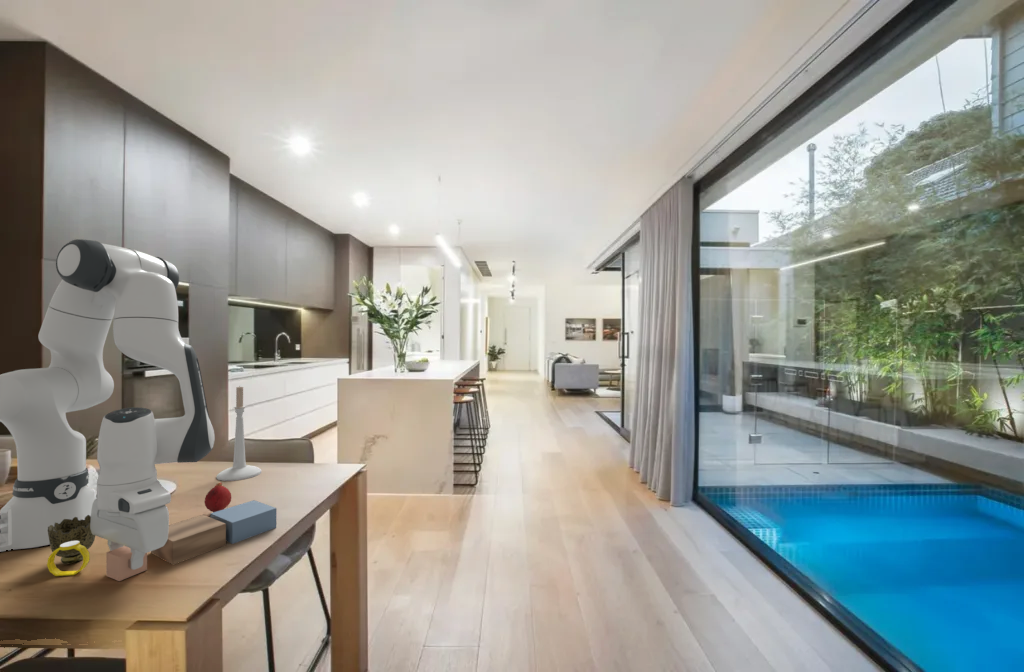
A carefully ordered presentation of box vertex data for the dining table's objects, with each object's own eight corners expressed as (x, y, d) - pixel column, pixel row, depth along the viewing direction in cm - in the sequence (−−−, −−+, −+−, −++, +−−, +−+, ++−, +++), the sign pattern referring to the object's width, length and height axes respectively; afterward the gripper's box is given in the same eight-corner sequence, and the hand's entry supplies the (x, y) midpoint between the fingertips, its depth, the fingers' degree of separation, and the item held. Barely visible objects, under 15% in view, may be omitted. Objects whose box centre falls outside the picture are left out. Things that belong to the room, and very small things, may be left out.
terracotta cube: (106, 575, 85) (106, 552, 85) (134, 564, 89) (134, 542, 89) (119, 581, 83) (119, 557, 83) (146, 569, 87) (147, 546, 87)
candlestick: (253, 479, 143) (253, 387, 144) (209, 482, 141) (209, 388, 141) (266, 468, 156) (266, 383, 156) (226, 470, 153) (226, 384, 153)
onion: (217, 518, 112) (218, 487, 112) (198, 516, 113) (199, 485, 113) (236, 510, 118) (236, 480, 118) (218, 508, 119) (218, 478, 119)
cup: (38, 573, 86) (38, 532, 86) (58, 556, 92) (59, 518, 93) (88, 565, 89) (88, 525, 89) (104, 549, 95) (104, 512, 96)
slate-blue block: (210, 534, 103) (210, 513, 103) (253, 519, 112) (253, 500, 112) (232, 545, 98) (232, 522, 98) (276, 528, 107) (276, 508, 107)
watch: (43, 580, 83) (43, 548, 83) (54, 573, 86) (54, 542, 86) (82, 576, 85) (82, 544, 85) (92, 568, 88) (92, 538, 88)
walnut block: (151, 554, 94) (151, 530, 94) (203, 536, 103) (203, 514, 103) (172, 566, 89) (172, 541, 89) (225, 546, 98) (225, 523, 98)
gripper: (79, 490, 87) (79, 560, 87) (137, 506, 79) (136, 584, 79) (118, 481, 93) (118, 546, 93) (176, 495, 85) (175, 567, 85)
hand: (127, 564), depth 86 cm, fingers closed on terracotta cube, 4 cm apart
